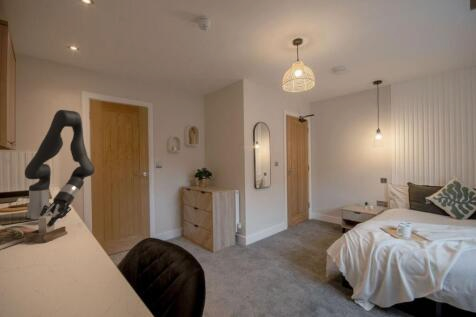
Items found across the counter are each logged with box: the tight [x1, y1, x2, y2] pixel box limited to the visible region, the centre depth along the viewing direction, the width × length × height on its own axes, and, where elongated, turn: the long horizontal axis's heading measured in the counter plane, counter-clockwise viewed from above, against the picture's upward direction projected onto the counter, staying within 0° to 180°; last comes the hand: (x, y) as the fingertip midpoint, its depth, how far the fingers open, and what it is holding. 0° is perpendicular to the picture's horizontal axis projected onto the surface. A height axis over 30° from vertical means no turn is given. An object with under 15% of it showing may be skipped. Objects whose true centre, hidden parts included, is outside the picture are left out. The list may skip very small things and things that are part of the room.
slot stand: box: [23, 226, 68, 244], centre depth 103 cm, size 11×11×4 cm
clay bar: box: [37, 215, 55, 234], centre depth 103 cm, size 4×4×8 cm
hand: (44, 225), depth 102 cm, fingers closed on clay bar, 4 cm apart
